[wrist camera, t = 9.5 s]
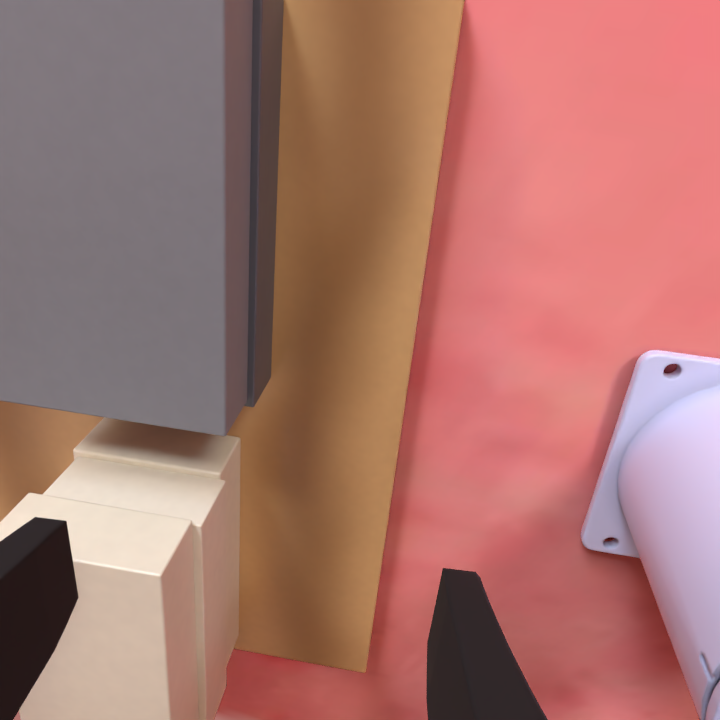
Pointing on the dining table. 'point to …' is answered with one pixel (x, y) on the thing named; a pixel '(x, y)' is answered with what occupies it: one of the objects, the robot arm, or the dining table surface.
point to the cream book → (119, 616)
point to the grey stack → (139, 206)
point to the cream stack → (176, 499)
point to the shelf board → (321, 325)
